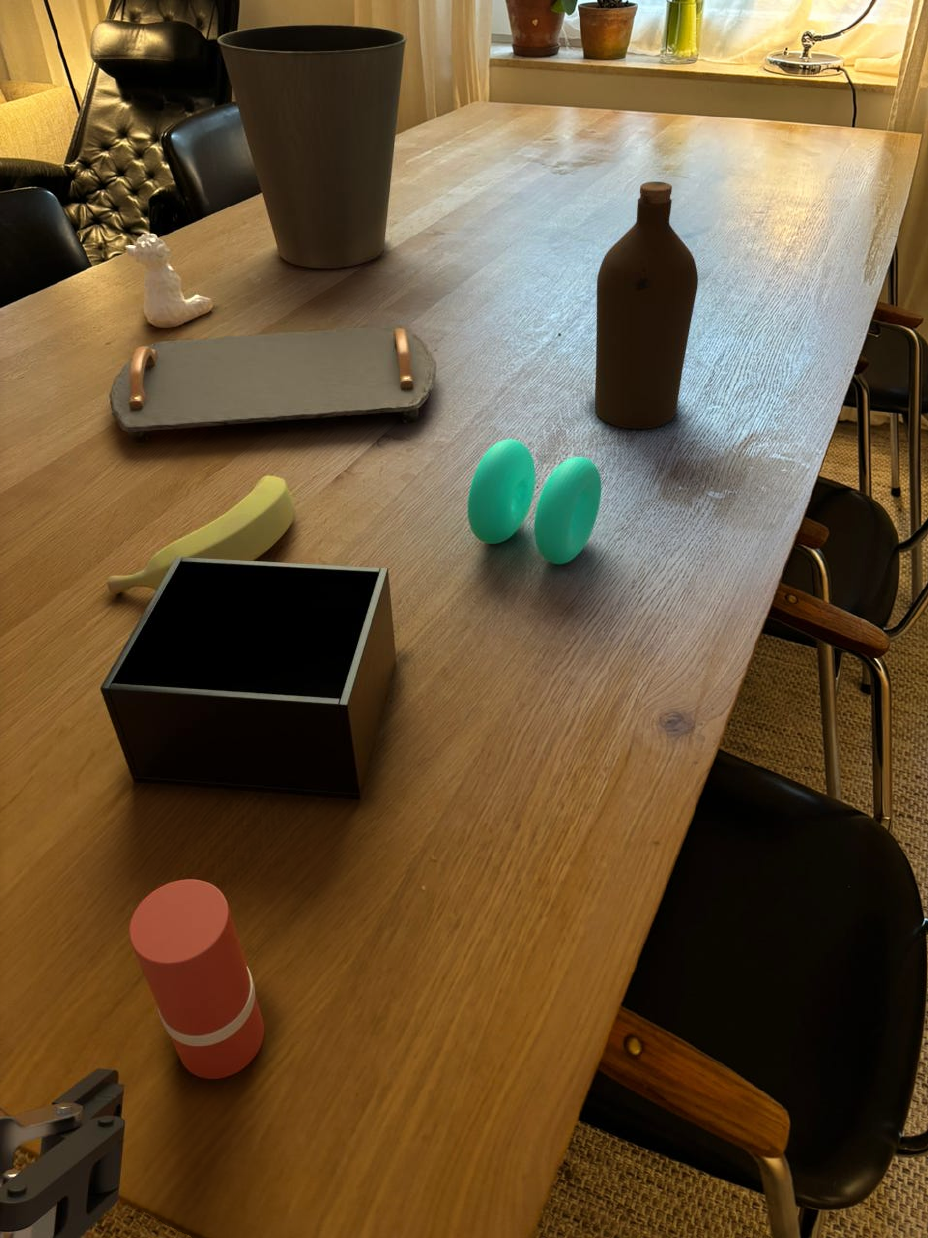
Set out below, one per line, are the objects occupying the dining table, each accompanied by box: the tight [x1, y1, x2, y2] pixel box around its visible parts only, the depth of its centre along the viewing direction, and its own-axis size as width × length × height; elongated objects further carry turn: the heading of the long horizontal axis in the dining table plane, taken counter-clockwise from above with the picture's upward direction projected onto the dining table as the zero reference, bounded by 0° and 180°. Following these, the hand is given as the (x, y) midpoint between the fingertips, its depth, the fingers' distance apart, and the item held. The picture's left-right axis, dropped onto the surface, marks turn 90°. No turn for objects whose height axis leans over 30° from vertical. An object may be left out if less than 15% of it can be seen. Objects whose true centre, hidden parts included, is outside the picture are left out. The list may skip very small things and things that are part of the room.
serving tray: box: [109, 325, 437, 445], centre depth 119 cm, size 39×23×6 cm, turn 97°
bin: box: [99, 557, 397, 800], centre depth 75 cm, size 17×15×10 cm
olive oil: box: [594, 181, 699, 430], centre depth 108 cm, size 11×11×25 cm
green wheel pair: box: [467, 438, 602, 565], centre depth 92 cm, size 10×10×10 cm
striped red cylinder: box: [128, 878, 265, 1080], centre depth 54 cm, size 5×5×12 cm
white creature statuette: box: [124, 233, 214, 329], centre depth 135 cm, size 10×9×12 cm
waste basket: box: [216, 23, 408, 269], centre depth 149 cm, size 27×20×30 cm
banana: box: [106, 475, 296, 595], centre depth 95 cm, size 14×6×20 cm
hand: (1, 1083), depth 38 cm, fingers open, 8 cm apart
